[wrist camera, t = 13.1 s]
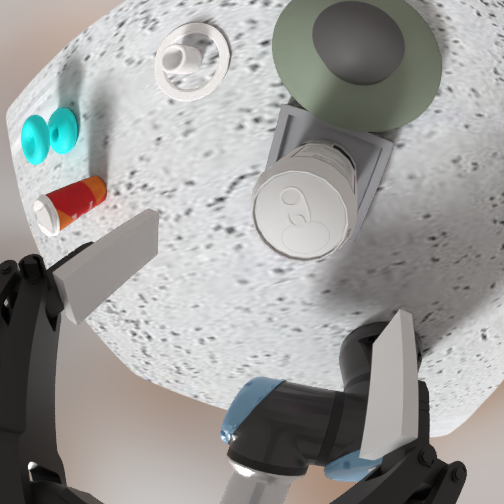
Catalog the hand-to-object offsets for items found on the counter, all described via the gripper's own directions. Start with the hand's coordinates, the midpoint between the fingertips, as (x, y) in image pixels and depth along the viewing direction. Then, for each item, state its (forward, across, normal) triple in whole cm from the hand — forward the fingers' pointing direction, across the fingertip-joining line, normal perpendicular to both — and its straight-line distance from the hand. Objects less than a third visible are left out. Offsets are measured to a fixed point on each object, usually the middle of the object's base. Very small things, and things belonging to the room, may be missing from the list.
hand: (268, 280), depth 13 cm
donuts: (+23, +50, +4) cm, 55 cm away
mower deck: (+23, 0, -9) cm, 25 cm away
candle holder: (+24, +21, -10) cm, 33 cm away
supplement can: (+22, 0, 0) cm, 22 cm away
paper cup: (+23, +39, +15) cm, 48 cm away
